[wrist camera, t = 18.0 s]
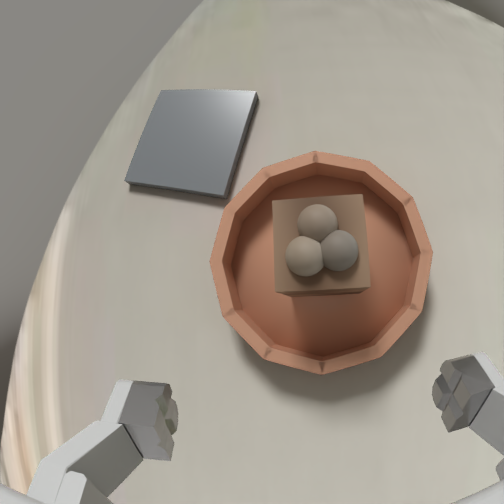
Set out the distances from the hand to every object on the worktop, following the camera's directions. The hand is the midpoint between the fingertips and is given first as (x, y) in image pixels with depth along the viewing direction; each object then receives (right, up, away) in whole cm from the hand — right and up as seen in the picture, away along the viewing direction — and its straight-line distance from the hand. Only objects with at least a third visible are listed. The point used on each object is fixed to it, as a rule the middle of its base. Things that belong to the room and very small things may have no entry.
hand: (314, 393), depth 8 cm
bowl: (+4, +3, +19) cm, 20 cm away
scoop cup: (+4, +3, +18) cm, 19 cm away
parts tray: (-8, +16, +24) cm, 30 cm away
